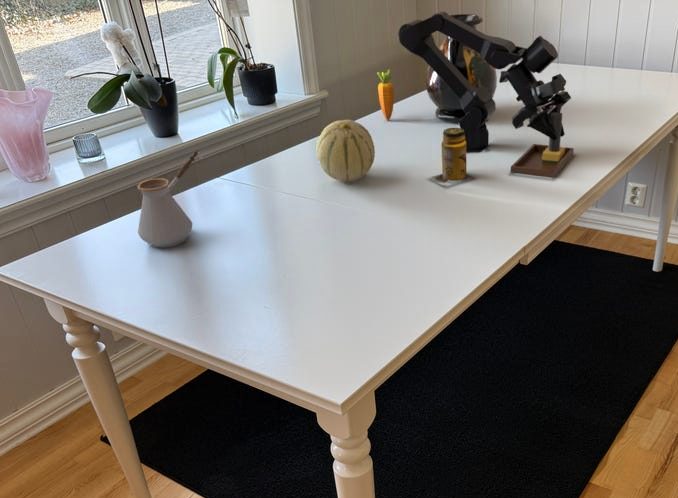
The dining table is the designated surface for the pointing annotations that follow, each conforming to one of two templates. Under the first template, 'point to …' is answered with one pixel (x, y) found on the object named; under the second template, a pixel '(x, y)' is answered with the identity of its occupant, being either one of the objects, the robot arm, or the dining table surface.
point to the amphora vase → (468, 66)
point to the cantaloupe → (345, 150)
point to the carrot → (386, 94)
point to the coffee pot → (163, 212)
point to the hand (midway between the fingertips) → (559, 137)
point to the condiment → (452, 156)
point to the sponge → (554, 141)
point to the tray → (539, 162)
